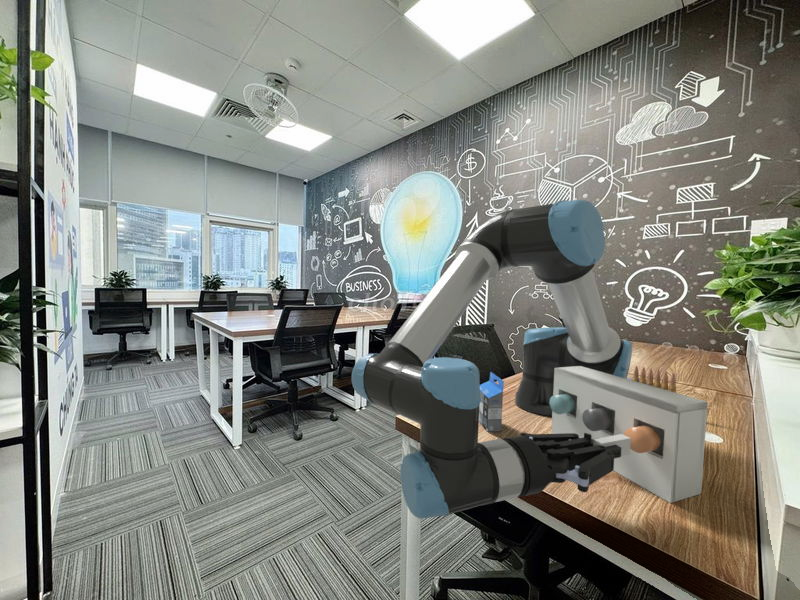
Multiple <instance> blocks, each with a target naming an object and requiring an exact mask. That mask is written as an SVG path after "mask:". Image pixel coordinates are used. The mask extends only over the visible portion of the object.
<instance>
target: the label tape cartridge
mask: <svg viewBox="0 0 800 600" xmlns="http://www.w3.org/2000/svg"><path fill="white" fill-rule="evenodd" d="M504 383H505V380H503V379H501V377H499V376H497V374H495V373H493V372H492V371H490V373H489V380H488V381H486V382H483V383H481V384H480V396H481V402H480V407H479V424H480V425H481V426H482V427H483V428H484V429H485V430H486V432H488V433H499V432H502V422H503V419H502V418H503V399H504V398H503V397H504Z"/></svg>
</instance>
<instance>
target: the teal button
mask: <svg viewBox="0 0 800 600" xmlns="http://www.w3.org/2000/svg"><path fill="white" fill-rule="evenodd" d="M550 407H551V409H552V411H553V412H554V413H556V414H565V413H571V412H573V411H574V408H575V404H574V401H573V399H572V398H571V396H569V395H567V394H561V395H553V396H552V397H551V398H550Z"/></svg>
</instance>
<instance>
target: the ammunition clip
mask: <svg viewBox="0 0 800 600" xmlns="http://www.w3.org/2000/svg"><path fill="white" fill-rule="evenodd" d="M632 376H633V377H632V378H633V379H632V381H636V382H639V383H643V384H646V385H650V386H654V387H657V388H661V389H664V390H668V391H671V392H675V393H677V378H676V374H675V372H672V373H671V375H670V379H669V375H668V372H667V371H666V370H665V371H664V372H663V376H662V382H661V373H660V369H657V370H656V371H655V376H654V373H653V369H652V368H649V370H648V373H647V377H646V368H645V367H642V368H641V371H640V375H639V368H638V366H637V365H635V366H634V370H633V375H632ZM639 376H640V377H639ZM639 378H640V381H639ZM646 380H647V383H646Z"/></svg>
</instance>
